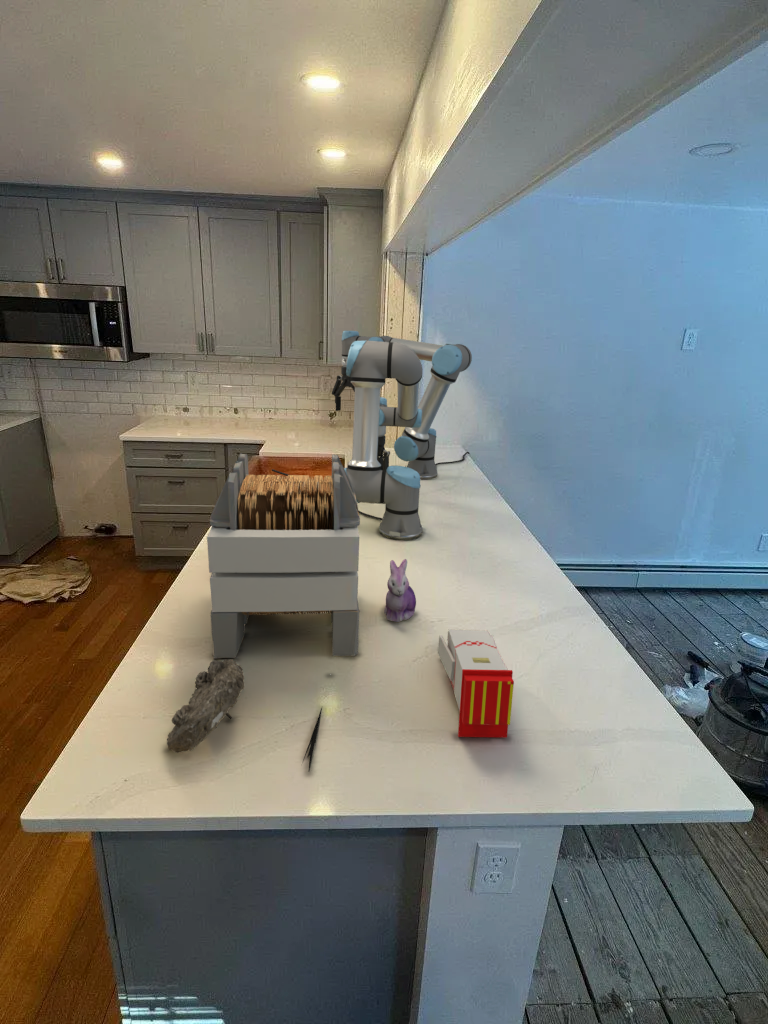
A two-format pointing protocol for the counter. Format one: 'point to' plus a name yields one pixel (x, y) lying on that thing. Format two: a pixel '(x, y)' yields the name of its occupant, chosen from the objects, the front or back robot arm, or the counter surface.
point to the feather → (313, 740)
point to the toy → (478, 682)
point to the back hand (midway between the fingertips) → (348, 412)
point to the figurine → (399, 594)
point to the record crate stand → (284, 553)
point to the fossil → (206, 705)
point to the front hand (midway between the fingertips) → (374, 487)
